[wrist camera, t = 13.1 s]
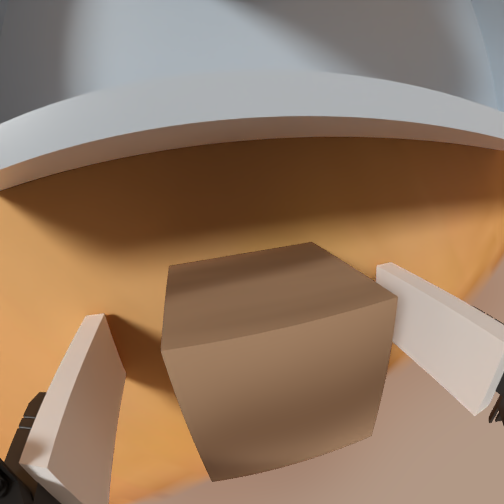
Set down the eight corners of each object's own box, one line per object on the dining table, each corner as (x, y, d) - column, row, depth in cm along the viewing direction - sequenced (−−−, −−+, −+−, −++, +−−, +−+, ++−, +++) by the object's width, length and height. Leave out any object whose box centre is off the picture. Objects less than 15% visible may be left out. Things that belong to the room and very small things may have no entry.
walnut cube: (169, 265, 10) (160, 350, 5) (310, 241, 11) (397, 296, 6) (196, 380, 11) (212, 481, 7) (313, 354, 12) (371, 435, 7)
